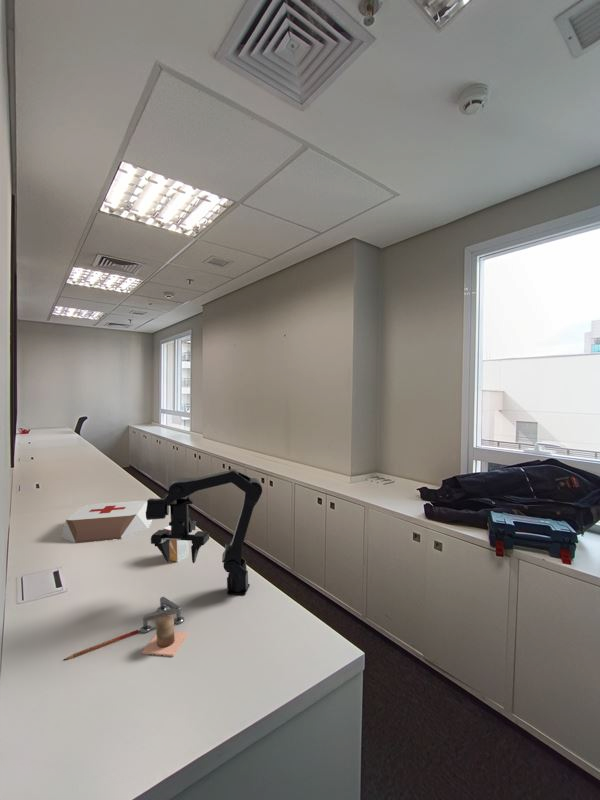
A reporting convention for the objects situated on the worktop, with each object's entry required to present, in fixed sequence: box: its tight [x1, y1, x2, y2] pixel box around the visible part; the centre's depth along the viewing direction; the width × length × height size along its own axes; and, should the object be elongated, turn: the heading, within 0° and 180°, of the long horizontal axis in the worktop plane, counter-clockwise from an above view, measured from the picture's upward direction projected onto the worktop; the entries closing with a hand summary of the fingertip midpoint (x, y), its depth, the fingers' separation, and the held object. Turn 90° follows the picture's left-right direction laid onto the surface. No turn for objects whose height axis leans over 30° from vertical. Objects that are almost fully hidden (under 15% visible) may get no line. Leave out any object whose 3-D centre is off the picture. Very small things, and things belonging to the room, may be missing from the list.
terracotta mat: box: [141, 631, 189, 657], centre depth 105 cm, size 9×9×1 cm
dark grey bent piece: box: [139, 596, 185, 634], centre depth 116 cm, size 11×13×4 cm
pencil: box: [63, 629, 140, 661], centre depth 105 cm, size 19×1×1 cm, turn 126°
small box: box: [162, 525, 190, 563], centre depth 158 cm, size 8×6×13 cm
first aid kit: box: [60, 500, 153, 544], centre depth 194 cm, size 34×41×10 cm
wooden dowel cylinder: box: [155, 615, 175, 648], centre depth 105 cm, size 5×5×6 cm
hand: (181, 562), depth 128 cm, fingers open, 9 cm apart
